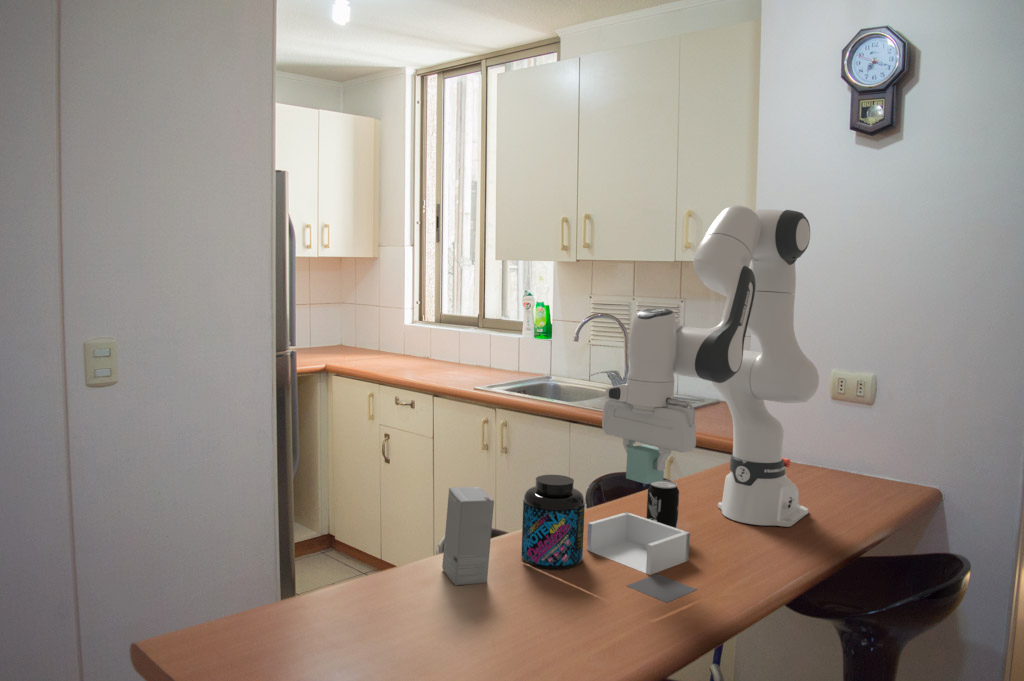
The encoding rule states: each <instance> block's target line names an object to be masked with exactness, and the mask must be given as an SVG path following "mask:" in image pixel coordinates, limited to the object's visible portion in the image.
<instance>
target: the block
mask: <svg viewBox="0 0 1024 681" xmlns="http://www.w3.org/2000/svg"><path fill="white" fill-rule="evenodd" d="M658 451H659V447H656V446H652V445H648V444H644V443H643V444H640V445H633V446H632V447H628V449H627V453H626V470H625V479H627V480H631V481H634V482H638V483H641V484H645V485H651V484H650V483H654V482H659V481H663V480H664V474H665V473H664V472H665V469H664V470H663V471H658V470H654V469H653V466H654V464H653V461H654V460H658V458H659V456H660V454H661V453H659V452H658Z"/></svg>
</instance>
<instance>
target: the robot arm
mask: <svg viewBox="0 0 1024 681" xmlns="http://www.w3.org/2000/svg"><path fill="white" fill-rule="evenodd" d="M810 238H811V226H810V223H809V219H807V216H806V215H805V214H804V213H803V212H800V211H797V210H792V209H785V210H778V209H757V210H753V209H751V208H749V207H747V206H744V205H735V204H734V205H731V206H727V207H725V208H724V209H723V210H722V211H721V212H720V213H719V214H718V215H717V217H716V218H715V219H714V220H713V221H712V223H711V224H710V225H709V227H708V229H707V230H706V232H705V233H704V235H703V237H702V238H701V240H700V242H699V244H698V247H697V248H696V250H695V254H694V257H693V265H692V266H693V269H694V273H695V274H696V276H697V278H698V280H699V281H700V282H701V283H702V284H703V286H705V287H706V288H707V289H709V290H711V291H712V292H715V293H717V294H718V295H721V296H724V297H725V298H726V300H725V304H724V308H723V312H722V315H721V319H720V323H719V324H717V325H716V326H714V327H713V326H712V327H711V328H710V327H709V328H707V327H706V328H704V327H694V326H693V327H692V326H685V325H683V324H681V323H679V322H678V321H677V318H676V314H675V312H674V311H673V310H672V309H669V308H662V307H656V308H655V307H654V308H645V309H641V310H639V311H637V312H636V313H635V314H634V316H633V320H632V323H631V327H630V332H629V334H630V335H629V339H628V340H629V341H628V358H629V359H628V360H629V369H628V372H627V375H626V383H622V384H618V385H614V386H610V387H607V388H605V392H604V393H605V394H604V396H605V398H606V399H607V400H606V401H605V403H604V405H603V409H602V423H601V427H602V430H603V432H604V435H607V436H612V437H615V438H619V439H622V445H623V447H624V450H625V452H626V454H627V449H628V447H632V446H634V445H635V444H636V442H637V443H640V444H643V445H644V444H645V445H649V446H653V447H657V448H659V451H658V452H659V453H661V454H660V456H659V458H658V460H654V461H653V464H654V466H653V469H654V470H658V471H663V470H664V471H665V469H666V462H667V460H668V459H669V457H670V456H671V454H672V452H673V451H674V452H678V453H683V454H684V453H688V452H689V453H690V452H692V451H694V449H695V448H696V447H697V446H696V445H697V430H696V429H697V428H696V426H697V425H696V409H695V408H694V407H693V405H692V404H691V403H690V402H689V401H686V400H680V399H676V398H674V394H675V393H674V392H675V375H676V376H682V377H688V378H694V379H695V378H697V379H701V380H704V381H708V382H711V384H712V386H713V387H714V388H715V389H716V390H717V391H718V392H719V393H720V394H721V396H722V397H723V399H724V400H725V402H726V405H727V406H728V409H729V411H730V415H731V419H732V427H733V428H732V429H733V433H732V434H733V436H732V438H733V440H732V442H733V443H732V453H731V455H730V459H729V470H730V473H728V474H726V476H725V479H724V486H723V493H722V501H719V502H718V503H717V507H718V508H719V509H720V510H721V513H722V515H723V516H724V517H725V518H728V519H730V520H732V521H736V522H738V523H743V524H749V525H755V526H779V527H784V528H785V527H786V528H789V527H792V526H793V525H795V524H796V523H797V522H799V521H800V520H802V519H803V518H804V517H805V516H806V515H808V514H809V508H808V507H805V506H804V505H802V504H799V494H800V493H799V489H798V487H797V486H796V485H795V484H794V483H793V482H792V481H791V480H790V478H789V477H787V475H786V470H785V469H786V468H790V467H791V465H792V464H791V463H792V461H791V459H790V458H785V457H783V449H784V447H783V445H784V433H785V432H784V428H783V426H782V423H781V422H780V421H779V420H778V419H777V417H774V416H773V415H772V414H771V413H770V412H769V410H768V408H767V406H766V405H765V401H771V402H775V403H776V402H777V403H781V404H796V403H797V404H798V403H807V402H808V401H810V400H811V398H813V397H814V396H815V394H816V392H817V391H818V387H819V383H820V377H819V376H820V375H819V371H818V369H817V367H816V366H815V364H814V363H813V362H812V361H811V360H810V359H809V358H808V357H807V356H806V354H804V352H803V350H802V349H801V347H800V345H799V343H798V341H797V337H796V334H795V328H794V326H795V325H794V321H795V320H794V319H795V318H794V316H795V315H794V313H795V298H796V287H797V286H796V283H797V281H796V280H797V277H796V276H797V275H796V261H797V260H798V259H799V258H801V257H802V256H803V254H804V253H805V252H806V251H807V249H808V247H809V244H810V240H811V239H810ZM747 331H748V332H749V333H751V334H752V335H753V336H755V337H756V338H757V339H758V342H759V343H760V348H761V351H755V350H746V349H745V348H744V345H745V339H746V334H747Z"/></svg>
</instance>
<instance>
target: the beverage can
mask: <svg viewBox="0 0 1024 681" xmlns="http://www.w3.org/2000/svg"><path fill="white" fill-rule="evenodd" d="M679 501H680V490H679V488H678V483H677V482H674V481H672V480H668V479H667V480H666V479H663V481H659V482H654V483H650V484H649V487H648V489H647V502H646V518H647V519H650V520H653V521H656V522H659V523H662V524H665V525H668V526H671V527H674V528H677V529H678V522H679V506H680V505H679V504H680V502H679Z"/></svg>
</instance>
